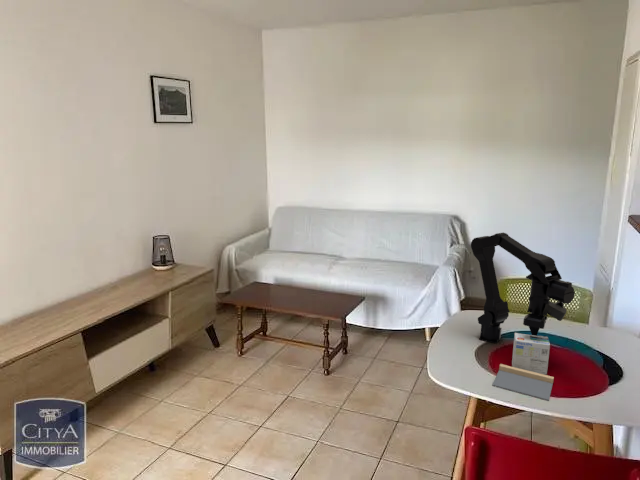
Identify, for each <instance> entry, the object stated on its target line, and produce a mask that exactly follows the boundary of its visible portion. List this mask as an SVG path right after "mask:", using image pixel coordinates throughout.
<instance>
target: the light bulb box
mask: <svg viewBox="0 0 640 480" xmlns="http://www.w3.org/2000/svg"><path fill="white" fill-rule="evenodd" d="M513 335H514V337H513V344H512V345H513V348H512V357H511V358H512V360H511V367H515V368H519V369H523V370H527V371H532V372H536V373H540V374H544V375H548V367H549V358H550V349H551V343H550V339H549V336H544V335H537V336H536V335H532V334H525V333H520V332H514V334H513Z"/></svg>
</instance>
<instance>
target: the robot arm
mask: <svg viewBox="0 0 640 480" xmlns="http://www.w3.org/2000/svg"><path fill="white" fill-rule="evenodd" d="M496 247H500V248H502V249H503V250H504V251H507V252H508V253H509V254H510V255H512V256H513V257H515V258H517V259H518V260H519V261H521V262H522V263H523V265H524V266H525V268H526V269H527V270H528V271H529V272H530V273H529V274H528V275H526V276H525V279H528V280H531V282H530V283H531V284H530V293H529V297H528V307H527V314H526V315H525V316H524V318H523V323H522V324H523V325H524V326H525V327H528V328H529V332H530V335H536V336H538V333H539V330H540V329H545V326H546V322H547V319H548V315H549V316H550V317H552V318H554V319H556V320H557V321H559V322H560V321H561V322H562V321H563V319H564V317H565V315H566V314H567V311H568V310H567V308H566V307H564V306H565V305H564V304H566V305H568V304H571V303H572V301H573V299H574V298H575V294H576V292H575V288H574V287H573V283H572V282H570V281H564V280H562V276H561V273H560V272H559V270H558V268H557V266H556V261H555V260H554V259H553V258H552V257H550V256H547V255H546V254H543V253H538V252H535V251H533V250H531V249H530V248H528V247H526V246H525V245H523V244H522V243H521V242H519V241H517V240H516V239H514V238H513V237H511V236H509V234H508V233H506V232H499V233H498V232H497V233H495V234H491V235H484V236H478V237H474V238H473V239H472V240H471V241H470V248H471V252H472V254H473V256H474V257H475V259H477V261H478V262H479V263H478V264H479V269H480V275H481V279H482V284H483V290H484V295H485V302H484V305H483V313H482V315H480V316H479V317H477V322H478V324H479V325H480V336H479V337H478V339H479V340H480V341H485V342H489V343H494V344H497V343H498V342H499V341H500V340H501V336H502V327H501V324H504V323H505V321H506V320H507V319H508V317H509V315H510V314H509V313H510V312H511V311H510V309H509V302H508V301H504V300H503V299H502V297H501V296H500V294H501V293H500V289H499V285H498V279H497V275H496V270H495V268H496V267H495V264H494V263H495V262H494V256H495V253H496ZM547 275H548V276H547ZM551 300H554V301H551ZM555 301H557V302H555Z"/></svg>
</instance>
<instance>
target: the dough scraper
mask: <svg viewBox="0 0 640 480" xmlns="http://www.w3.org/2000/svg"><path fill="white" fill-rule="evenodd" d="M498 367H499V368H498V372H497V373H496V376H495V378H494V379H493V382H492V385H491V386H492V387H495V386H496V387H495V388H499V389H502V390H507V391H511V392H515V393H517V394H522V395H525V396H529V397H532V398H536V399H540V400H544V401H550V397H551V394H552V389H553V384H554V379H555V377H554V376H550V375H548V374H540V373H536V372H532V371H527V370H523V369H519V368H515V367H512V365H511V366H510V365H507V364H503V363H500V364H499V366H498Z"/></svg>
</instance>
